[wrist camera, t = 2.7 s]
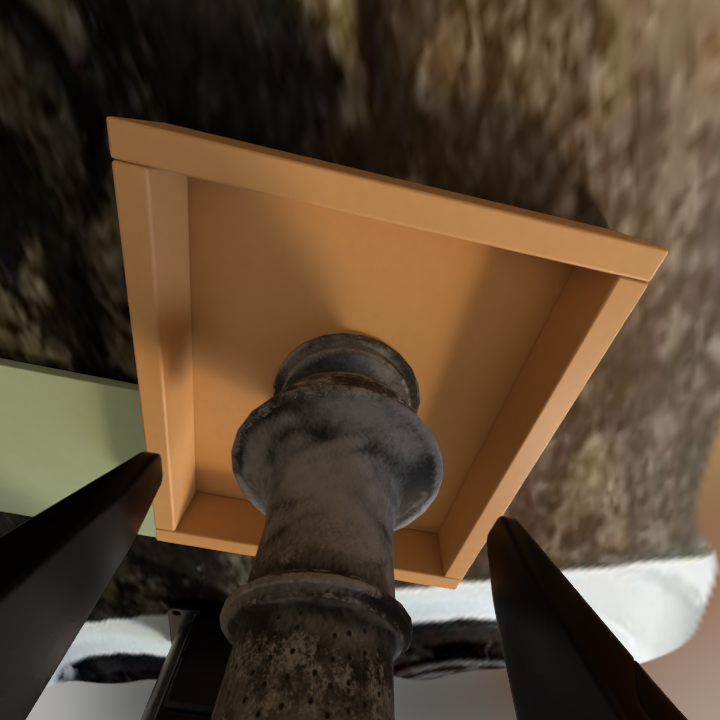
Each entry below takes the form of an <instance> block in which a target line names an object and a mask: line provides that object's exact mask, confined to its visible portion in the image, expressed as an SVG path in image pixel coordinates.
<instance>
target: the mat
mask: <svg viewBox="0 0 720 720" xmlns="http://www.w3.org/2000/svg"><path fill="white" fill-rule="evenodd" d="M144 451H146V445H145V437H144V429H143V420H142V412H141V404H140V395H139V387H138V384H132V383H127V382H122V381H117V380H112V379H106V378H101V377H96V376H91V375H86V374H81V373H75V372H70V371H65V370H60V369H55V368H49V367H44V366H39V365H34V364H29V363H23V362H18V361H13V360H8V359H3V358H0V511H2V512H8V513H14V514H20V515H26V516H32V517H34V516H35V515H37V514H39V513H40V512H42V511H44V510H45V509H47V508H49V507H50V506H52V505H54V504H55V503H57V502H59V501H60V500H62V499H64V498H65V497H67V496H69V495H70V494H72V493H74V492H75V491H77V490H79V489H80V488H82V487H84V486H85V485H87V484H89V483H90V482H92V481H94V480H95V479H97V478H99V477H100V476H102V475H104V474H105V473H107V472H109V471H110V470H112V469H114V468H115V467H117V466H119V465H120V464H122V463H124V462H125V461H127V460H129V459H130V458H132V457H134V456H135V455H137V454H139V453H141V452H144ZM155 529H156V527H155V521H154V512H153V504H151V506H150V509H149V511H148V513H147V515H146V517H145V519H144V521H143V523H142V525H141V527H140V530H139V532H138V534H140V535H146V536H152V537H156V530H155Z"/></svg>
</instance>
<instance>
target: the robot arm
mask: <svg viewBox="0 0 720 720" xmlns="http://www.w3.org/2000/svg"><path fill="white" fill-rule="evenodd" d="M162 479H163V471H162V460H161V456H160V454H158V453H153V452H147V451H144V452H141V453H139V454H137V455H135V456H134V457H132V458H130V459H129V460H127V461H125V462H124V463H122V464H120V465H119V466H117V467H115V468H114V469H112V470H110V471H109V472H107V473H105V474H104V475H102V476H100V477H99V478H97V479H95V480H94V481H92V482H90V483H89V484H87V485H85V486H84V487H82V488H80V489H79V490H77V491H75V492H74V493H72V494H70V495H69V496H67V497H65V498H64V499H62V500H60V501H59V502H57V503H55V504H54V505H52V506H50V507H49V508H47V509H45V510H44V511H42V512H40V513H39V514H37V515H35V516H34V517H32V518H30V519H29V520H27V521H25V522H24V523H22V524H20V525H19V526H17V527H15V528H14V529H12V530H10V531H9V532H7V533H5V534H4V535H2V536H0V720H26V718H27V716H28V715H29V713H30V712H31V710H32V708H33V707H34V705H35V703H36V702H37V700H38V698H39V697H40V695H41V693H42V692H43V690H44V689H45V687H46V685H47V684H48V682H49V680H50V679H51V677H52V675H53V674H54V672H55V670H56V669H57V667H58V666H59V664H60V662H61V661H62V659H63V657H64V656H65V654H66V652H67V651H68V649H69V647H70V646H71V644H72V643H73V641H74V639H75V638H76V636H77V634H78V633H79V631H80V629H81V628H82V626H83V625H84V623H85V621H86V620H87V618H88V616H89V615H90V613H91V611H92V610H93V608H94V606H95V605H96V603H97V602H98V600H99V598H100V597H101V595H102V593H103V592H104V590H105V588H106V587H107V585H108V583H109V582H110V580H111V579H112V577H113V575H114V574H115V572H116V570H117V569H118V567H119V565H120V564H121V562H122V560H123V559H124V557H125V556H126V554H127V552H128V551H129V549H130V547H131V545H132V544H133V542H134V540H135V538H136V536H137V534H138V532H139V530H140V527H141V525H142V523H143V521H144V519H145V517H146V515H147V513H148V511H149V509H150V506H151V504H152V502H153V500H154V498H155V496H156V494H157V492H158V490H159V488H160V485H161V483H162ZM487 549H488V558H489V568H490V578H491V587H492V596H493V603H494V609H495V614H496V619H497V624H498V629H499V634H500V639H501V644H502V648H503V653H504V658H505V663H506V668H507V673H508V678H509V683H510V688H511V693H512V697H513V702H514V707H515V711H516V717H517V720H687V718H686V717H685V716H684V715H683V714H682V713H681V712H680V711H679V710H678V709H677V708H676V706H675V705H674V704H673V703H672V702H671V701H670V699H669V698H668V697H667V696H666V695H665V694H664V693H663V691H662V690H661V689H660V688H659V687H658V686H657V684H656V683H655V682H654V681H653V680H652V679H651V678H650V676H649V675H648V674H647V673H646V672H645V670H643V668H642V667H641V666H640V665H639V663H638V662H637V661H634V658H633V656H632V655H631V654H630V653H629V652H628V650H627V649H626V648H625V647H624V646H623V645H622V643H621V642H620V641H619V640H618V639H617V637H616V636H615V635H614V634H613V633H612V632H611V630H610V629H609V628H608V627H607V626H606V624H605V623H604V622H603V621H602V620H601V619H600V617H599V616H598V615H597V614H596V613H595V611H594V610H593V609H592V608H591V607H590V606H589V604H588V603H587V602H586V601H585V600H584V598H583V597H582V596H581V595H580V594H579V593H578V591H577V590H576V589H575V588H574V587H573V585H572V584H571V583H570V582H569V581H568V580H567V578H566V577H565V576H564V575H563V574H562V572H561V571H560V570H559V569H558V568H557V567H556V565H555V564H554V563H553V562H552V561H551V559H550V558H549V557H548V556H547V555H546V554H545V552H544V551H543V550H542V549H541V548H540V546H539V545H538V544H537V543H536V542H535V541H534V539H533V538H532V537H531V536H530V535H529V533H528V532H527V531H526V530H525V529H524V528H523V526H522V525H521V524H520V523H519V522H518V521H517V520H516V519H515V518H511V517H506V516H500V517H498V519H497V520H496V522H495V523H494V525H493V527H492V528H491V530H490V531H489V533H488V536H487ZM221 611H222V608H220V607H213V606H207V605H200V604H194V603H188V602H181V601H174V602H172V604H171V606H170V608H169V610H168V616H169V625H170V633H171V642H172V646H171V648H170V650H169V653H168V655H167V658H166V660H165V662H164V665H163V667H162V669H161V672H160V674H159V677H158V679H157V681H156V684H155V686H154V689H153V691H152V693H151V696H150V698H149V701H148V703H147V705H146V708H145V710H144V712H143V715H142V717H141V720H211V718H212V714H213V711H214V708H215V704H216V701H217V697H218V694H219V691H220V687H221V684H222V680H223V677H224V674H225V670H226V667H227V663H228V660H229V657H230V653H231V650H232V647H233V645H232V644H230V642H229V641H228V639H227V638H226V636H225V635H224V633H223V632H222V630H221V624H220V613H221Z"/></svg>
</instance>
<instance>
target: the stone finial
mask: <svg viewBox="0 0 720 720" xmlns="http://www.w3.org/2000/svg"><path fill="white" fill-rule="evenodd" d="M419 405H420V394H419V384H418V382H417V379H416V377H415V374H414V372H413V370H412V368H411V367H410V365H409V364H408V363H407V362H406V361H405V359H404V358H403V357H402V356H401V355H400V354H399V353H398V352H396V351H395V350H393V349H392V348H391V347H389V346H388V345H386V344H385V343H383V342H380V341H378V340H375V339H372V338H370V337H367V336H364V335H356V334H348V333H339V334H330V335H322V336H320V337H317V338H315V339H312V340H309V341H307V342H304V343H303V344H302V345H300V346H299V347H297V348H296V349H295V350H293V351H292V352H291V353H289V355H288V356H287V357H286V359H285V360H284V361H283V363H282V364H281V365H280V367H279V369H278V372H277V375H276V378H275V381H274V384H273V397H272V398H270V399H269V400H267V401H266V402H264V403H263V404H261V405H260V406H259V407H257V408H256V409H254V410H253V411H252V412H251V413H250V414H249V416H248V417H247V418H246V420H245V421H244V422H243V424H242V425H241V426H240V428H239V429H238V431H237V433H236V436H235V440H234V443H233V447H232V450H231V458H232V469H233V474H234V476H235V478H236V480H237V482H238V485H239V487H240V489H241V491H242V493H243V494H244V495H245V496H246V497H247V499H248V500H249V501H250V502H251V503H252V505H253V506H254V507H255V508H256V509H257V510H259V511H260V512H261V513H263V514H264V515H265V516H266V519H265V526H264V529H263V533H262V536H261V539H260V543H259V546H258V549H257V552H256V556H255V559H254V562H253V566H252V569H251V572H250V575H249V579H248V582H247V584H245V585H243V586H241V587H239V588H238V589H237V590H236V591H235V592H234V593H232V594H231V595H230V596H229V597H228V598H227V599H226V601H225V603H224V606H223V608H222V611H221V613H220V624H221V630H222V632H223V633H224V635H225V636H226V638H227V639H228V641H229V642H230V644H232V645H233V647H232V650H231V653H230V657H229V660H228V663H227V667H226V670H225V674H224V677H223V680H222V684H221V687H220V691H219V694H218V697H217V701H216V704H215V708H214V711H213V714H212V718H211V720H395V715H394V681H393V661H395V660H397V659H398V658H399V657H400V656H401V655H402V654H403V653H404V652H405V651H406V650H407V649H408V648H409V645H410V643H411V640H412V638H413V629H412V622H411V617H410V616H409V614H408V613H407V611H406V610H405V608H404V607H403V606H402V604H401V603H400V602H398V601H397V600H396V599H395V583H394V555H393V534H394V531H396V530H398V529H400V528H402V527H405V526H407V525H408V524H409V523H411V522H412V521H413V520H415V519H416V518H417V517H419V516H420V515H421V514H423V513H424V512H425V511H426V509H427V508H428V507H429V505H430V504H431V503H432V502H433V500H434V499H435V498H436V496H437V494H438V491H439V488H440V485H441V482H442V479H443V462H442V453H441V451H440V448H439V446H438V444H437V441H436V439H435V437H434V434H433V432H432V431H431V430H430V429H429V428H428V427H427V426H426V425H425V423H424V422H423V421H422V420H421V419H420V418H419V417H418V416H417V413H418V409H419Z"/></svg>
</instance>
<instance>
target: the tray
mask: <svg viewBox="0 0 720 720" xmlns="http://www.w3.org/2000/svg"><path fill="white" fill-rule="evenodd" d="M106 121H107V129H108V138H109V146H110V154H111V157H112V158H114V159H116V160H113V161H112V169H113V177H114V186H115V194H116V202H117V211H118V219H119V228H120V236H121V244H122V253H123V261H124V270H125V278H126V286H127V295H128V303H129V311H130V320H131V328H132V337H133V345H134V353H135V362H136V370H137V378H138V387H139V395H140V404H141V412H142V420H143V429H144V437H145V445H146V451H147V452H153V453H158V454H160V456H161V460H162V471H163V479H162V483H161V485H160V488H159V490H158V492H157V494H156V496H155V498H154V500H153V502H152V504H153V512H154V521H155V527H156V529H155V530H156V539H157V540H159V541H165V542H171V543H178V544H184V545H190V546H196V547H202V548H208V549H214V550H220V551H226V552H232V553H238V554H244V555H250V556H256V552H257V549H258V546H259V543H260V539H261V536H262V533H263V529H264V526H265V519H266V516H265V515H264V514H263V513H261V512H260V511H259V510H257V509H256V508H255V507H254V506H253V505H252V503H251V502H250V501H249V500H248V499H247V497H246V496H245V495H244V494H243V493H242V491H241V489H240V487H239V485H238V482H237V480H236V478H235V476H234V474H233V469H232V458H231V450H232V447H233V443H234V440H235V436H236V433H237V431H238V429H239V428H240V426H241V425H242V424H243V422H244V421H245V420H246V418H247V417H248V416H249V414H250V413H251V412H252V411H253V410H254V409H256V408H257V407H259V406H260V405H261V404H263V403H264V402H266V401H267V400H269V399H270V398H272V397H273V384H274V381H275V378H276V375H277V372H278V369H279V367H280V365H281V364H282V363H283V361H284V360H285V359H286V357H287V356H288V355H289V353H291V352H292V351H293V350H295V349H296V348H297V347H299V346H300V345H302V344H303V343H304V342H307V341H309V340H312V339H315V338H317V337H320V336H322V335H330V334H339V333H348V334H356V335H364V336H367V337H370V338H372V339H375V340H378V341H380V342H383V343H385V344H386V345H388V346H389V347H391V348H392V349H393V350H395V351H396V352H398V353H399V354H400V355H401V356H402V357H403V358H404V359H405V361H406V362H407V363H408V364H409V365H410V367H411V368H412V370H413V372H414V374H415V377H416V379H417V382H418V384H419V394H420V405H419V409H418V413H417V416H418V417H419V418H420V419H421V420H422V421H423V422H424V423H425V425H426V426H427V427H428V428H429V429H430V430H431V431H432V432H433V434H434V437H435V439H436V441H437V444H438V446H439V448H440V451H441V453H442V462H443V479H442V482H441V485H440V488H439V491H438V494H437V496H436V498H435V499H434V500H433V502H432V503H431V504H430V505H429V507H428V508H427V509H426V511H425V512H424V513H423V514H421V515H420V516H419V517H417V518H416V519H415V520H413V521H412V522H411V523H409V524H408V525H407V526H405V527H402V528H400V529H398V530H396V531H394V534H393V555H394V579H395V580H401V581H407V582H413V583H419V584H425V585H431V586H437V587H443V588H449V589H456V588H457V586H458V585H459V583H460V581H461V579H463V577H464V575H465V574H466V572H467V571H468V569H469V567H470V566H471V564H472V563H473V561H474V560H475V558H476V556H477V555H478V553H479V552H480V550H481V548H482V547H483V545H484V544H485V542H486V541H487V536H488V533H489V531H490V530H491V528H492V527H493V525H494V523H495V522H496V520H497V519H498V517H500V516H502V515H503V514H504V512H505V511H506V509H507V507H508V506H509V504H510V503H511V501H512V499H513V498H514V496H515V495H516V493H517V492H518V490H519V488H520V487H521V485H522V484H523V482H524V480H525V479H526V477H527V476H528V474H529V473H530V471H531V469H532V468H533V466H534V465H535V463H536V461H537V460H538V458H539V457H540V455H541V454H542V452H543V450H544V449H545V447H546V446H547V444H548V443H549V441H550V439H551V438H552V436H553V435H554V433H555V431H556V430H557V428H558V427H559V425H560V424H561V422H562V420H563V419H564V417H565V416H566V414H567V412H568V411H569V409H570V408H571V406H572V405H573V403H574V401H575V400H576V398H577V397H578V395H579V393H580V392H581V390H582V389H583V387H584V386H585V384H586V382H587V381H588V379H589V378H590V376H591V374H592V373H593V371H594V370H595V368H596V367H597V365H598V363H599V362H600V360H601V359H602V357H603V356H604V354H605V352H606V351H607V349H608V348H609V346H610V344H611V343H612V341H613V340H614V338H615V337H616V335H617V333H618V332H619V330H620V329H621V327H622V325H623V324H624V322H625V321H626V319H627V318H628V316H629V314H630V313H631V311H632V310H633V308H634V306H635V305H636V303H637V302H638V300H639V299H640V297H641V295H642V294H643V292H644V291H645V289H646V287H647V286H648V283H647V282H646V281H650V280H651V279H652V277H653V276H654V274H655V273H656V271H657V269H658V268H659V266H660V265H661V263H662V262H663V260H664V258H665V257H666V255H667V254H668V250H667V249H666V248H663V247H660V246H658V245H655V244H652V243H649V242H646V241H643V240H640V239H637V238H634V237H631V236H628V235H625V234H623V233H619V232H617V231H614V230H611V229H607V228H602V227H598V226H594V225H590V224H586V223H581V222H577V221H573V220H569V219H565V218H561V217H556V216H552V215H548V214H544V213H540V212H535V211H531V210H527V209H523V208H519V207H515V206H510V205H506V204H502V203H498V202H494V201H489V200H485V199H481V198H477V197H473V196H469V195H464V194H460V193H456V192H452V191H448V190H443V189H439V188H435V187H431V186H427V185H423V184H418V183H414V182H410V181H406V180H402V179H397V178H393V177H389V176H385V175H381V174H377V173H372V172H368V171H364V170H360V169H356V168H351V167H347V166H343V165H339V164H335V163H331V162H326V161H322V160H318V159H314V158H310V157H305V156H301V155H297V154H293V153H289V152H285V151H280V150H276V149H272V148H268V147H264V146H259V145H255V144H251V143H247V142H243V141H239V140H234V139H230V138H226V137H222V136H218V135H213V134H209V133H205V132H201V131H197V130H193V129H188V128H184V127H180V126H176V125H172V124H167V123H162V122H153V121H145V120H137V119H129V118H121V117H113V116H109V117H107V120H106Z"/></svg>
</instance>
